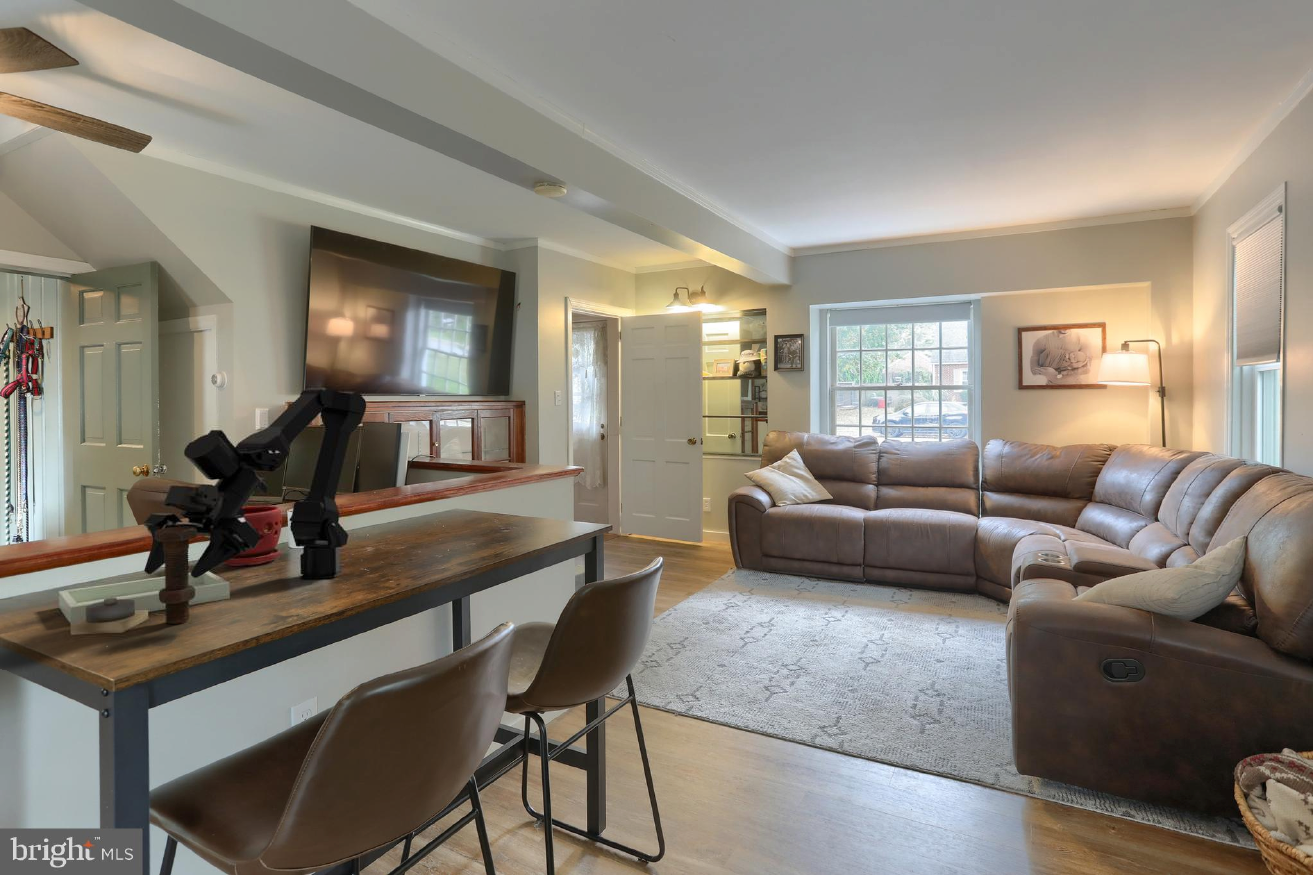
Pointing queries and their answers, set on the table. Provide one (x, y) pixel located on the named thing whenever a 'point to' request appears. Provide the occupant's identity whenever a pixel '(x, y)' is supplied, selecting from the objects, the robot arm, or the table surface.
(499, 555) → the table surface
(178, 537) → the bolt
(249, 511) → the plant pot
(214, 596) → the tray
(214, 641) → the table surface
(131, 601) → the stand
